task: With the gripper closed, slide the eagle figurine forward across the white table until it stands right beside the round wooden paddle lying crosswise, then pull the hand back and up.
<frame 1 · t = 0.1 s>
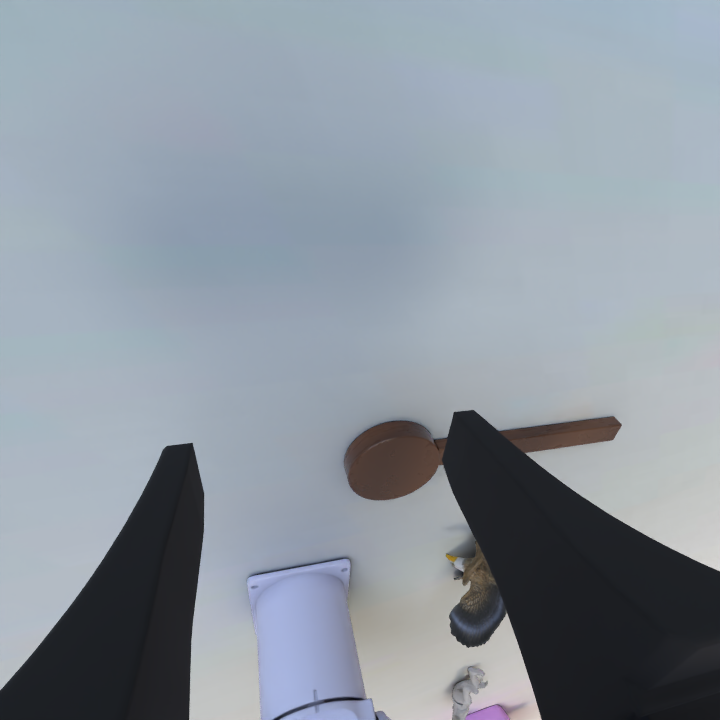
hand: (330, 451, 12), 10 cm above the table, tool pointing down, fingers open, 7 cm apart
round wooden paddle: (486, 440, 30), on the table
eagle figurine: (467, 549, 39), on the table
soldier figure: (459, 680, 62), on the table
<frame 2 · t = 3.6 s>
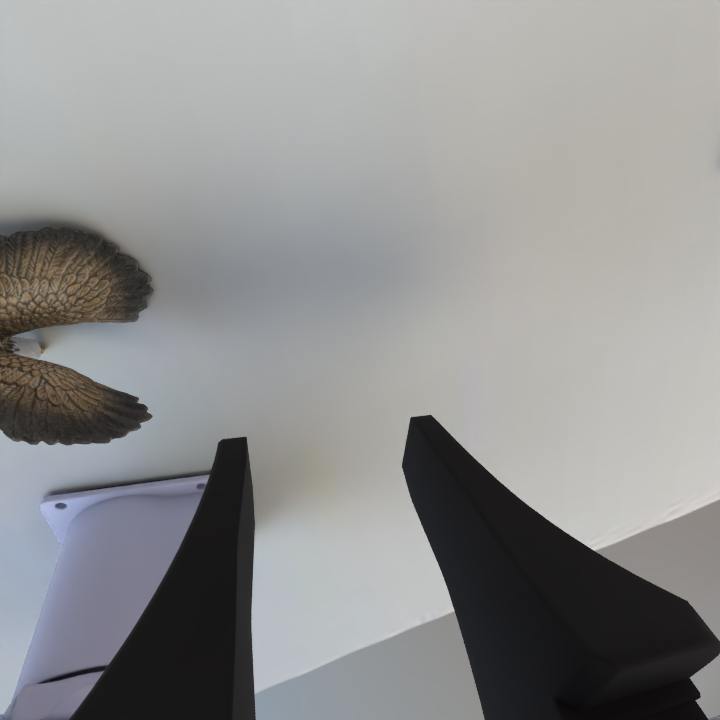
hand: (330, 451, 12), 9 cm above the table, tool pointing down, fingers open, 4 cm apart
eagle figurine: (26, 303, 17), on the table
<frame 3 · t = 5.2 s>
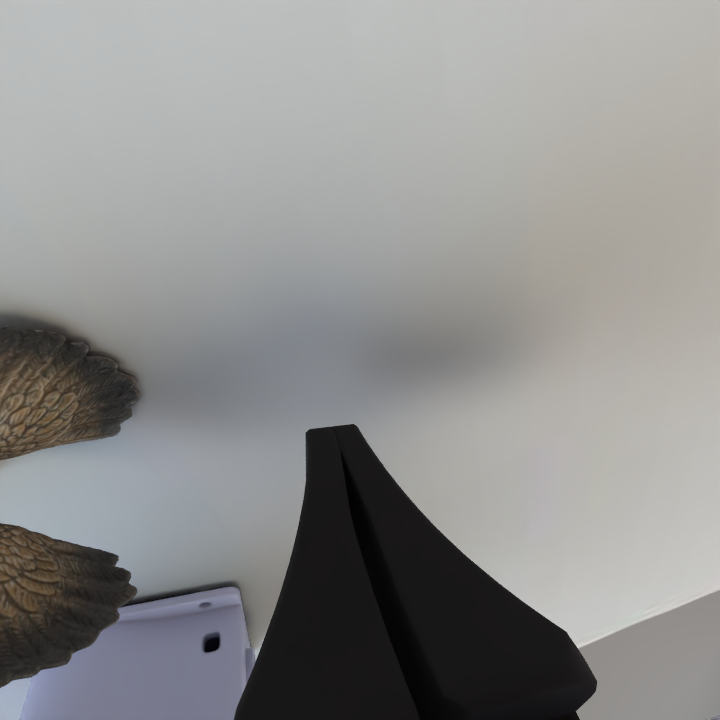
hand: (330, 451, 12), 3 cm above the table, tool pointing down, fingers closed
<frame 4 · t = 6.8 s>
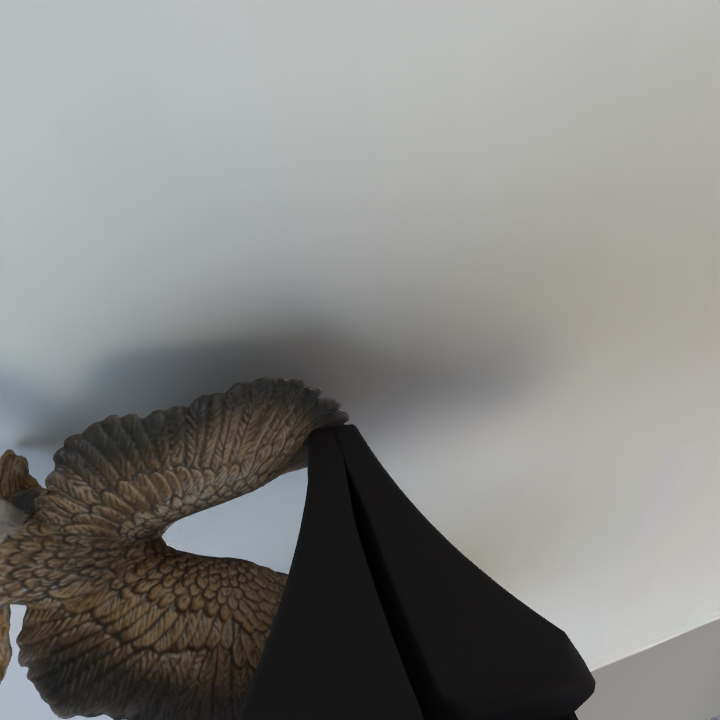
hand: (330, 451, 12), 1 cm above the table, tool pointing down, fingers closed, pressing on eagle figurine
eagle figurine: (176, 439, 12), on the table, touching gripper
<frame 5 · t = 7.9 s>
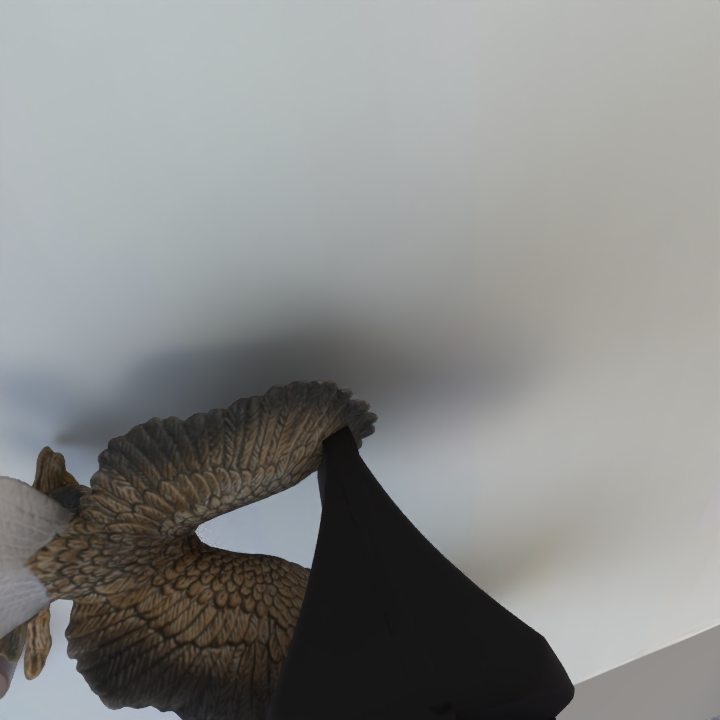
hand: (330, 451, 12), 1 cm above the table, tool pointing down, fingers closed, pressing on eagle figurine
eagle figurine: (207, 437, 13), on the table, touching gripper
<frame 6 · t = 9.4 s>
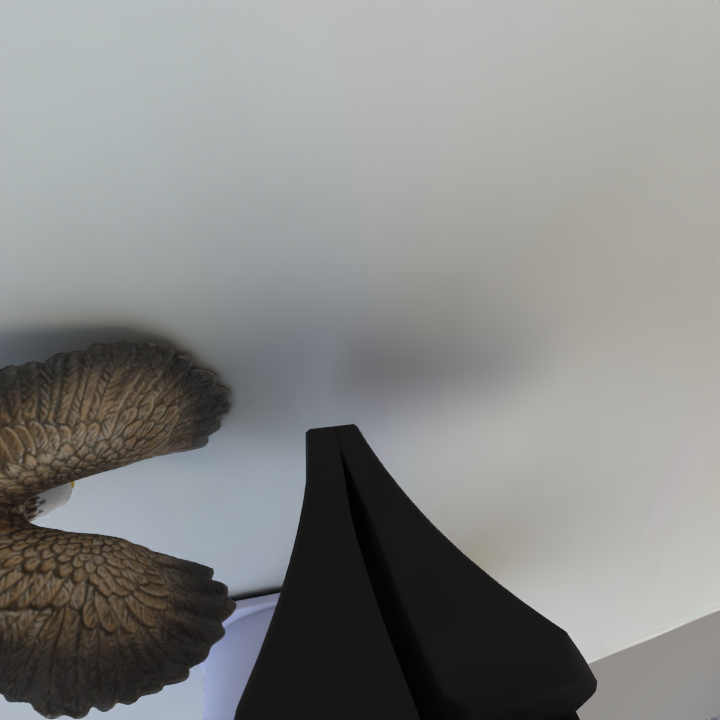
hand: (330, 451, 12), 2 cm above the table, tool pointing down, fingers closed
eagle figurine: (54, 426, 12), on the table
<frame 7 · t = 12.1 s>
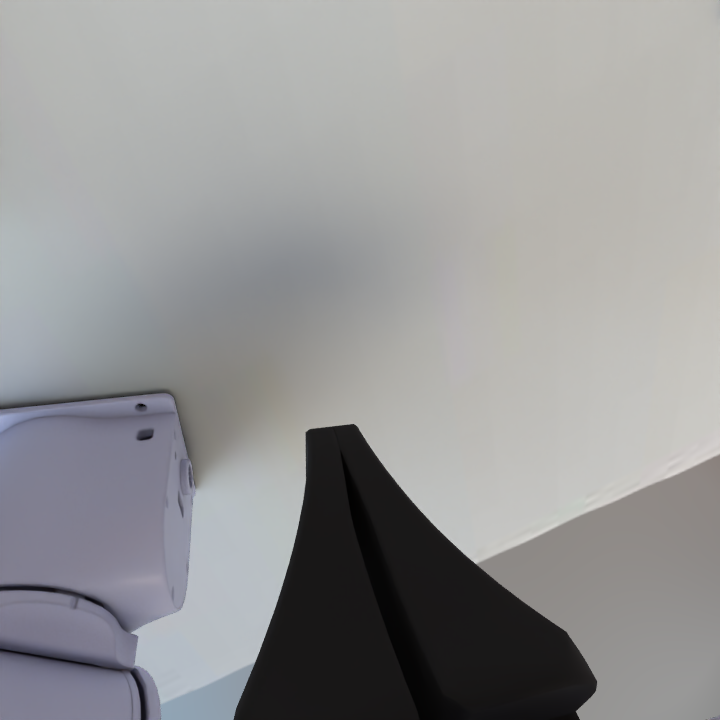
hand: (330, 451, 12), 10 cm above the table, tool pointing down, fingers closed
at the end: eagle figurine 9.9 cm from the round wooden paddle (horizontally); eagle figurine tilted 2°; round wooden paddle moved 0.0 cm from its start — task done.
